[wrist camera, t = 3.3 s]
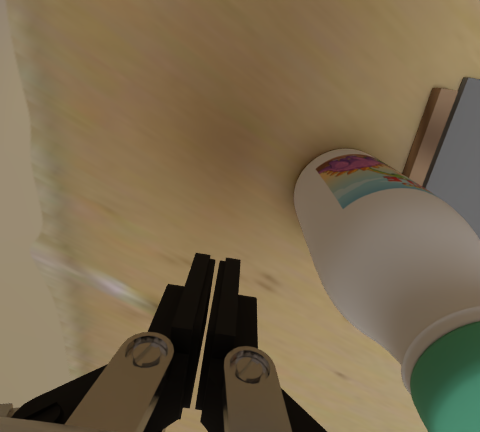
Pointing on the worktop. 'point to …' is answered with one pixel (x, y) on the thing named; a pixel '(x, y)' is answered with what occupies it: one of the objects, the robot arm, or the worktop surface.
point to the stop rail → (429, 133)
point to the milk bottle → (399, 277)
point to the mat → (460, 157)
